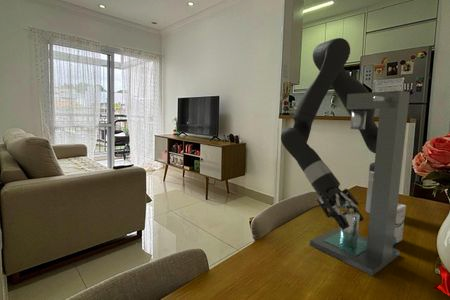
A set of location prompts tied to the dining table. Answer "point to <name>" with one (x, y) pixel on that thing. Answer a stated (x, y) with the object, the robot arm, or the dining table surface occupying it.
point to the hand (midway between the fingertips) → (353, 224)
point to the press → (376, 183)
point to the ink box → (399, 223)
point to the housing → (350, 228)
